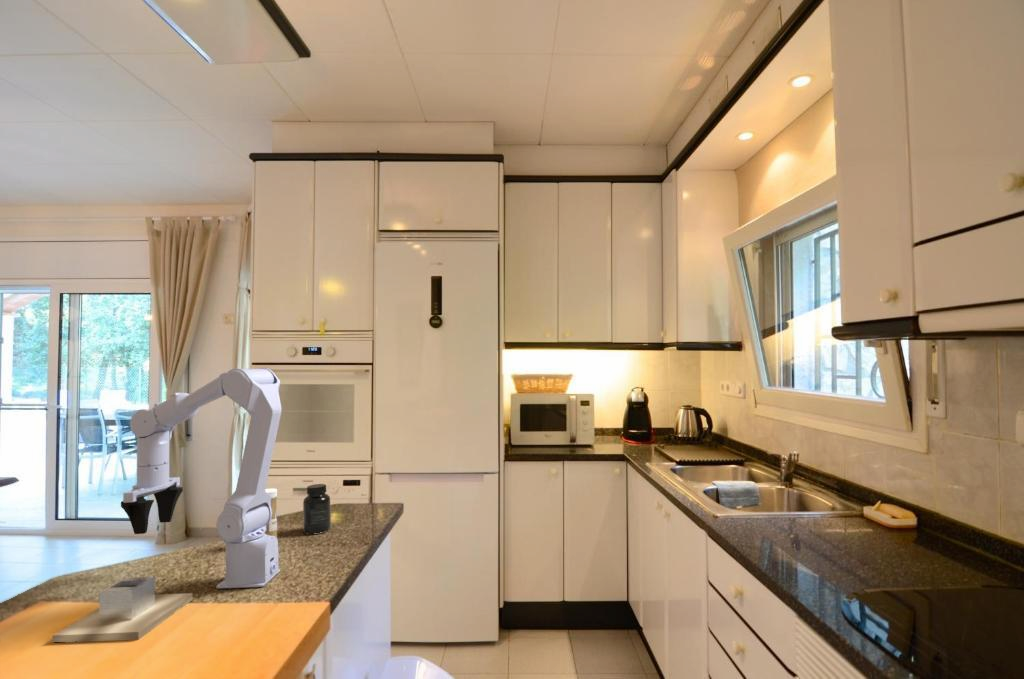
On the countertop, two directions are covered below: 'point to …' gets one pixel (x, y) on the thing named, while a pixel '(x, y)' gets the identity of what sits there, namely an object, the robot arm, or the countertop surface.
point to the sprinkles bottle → (272, 525)
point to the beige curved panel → (123, 622)
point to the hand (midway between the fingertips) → (153, 527)
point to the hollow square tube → (126, 598)
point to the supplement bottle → (316, 510)
